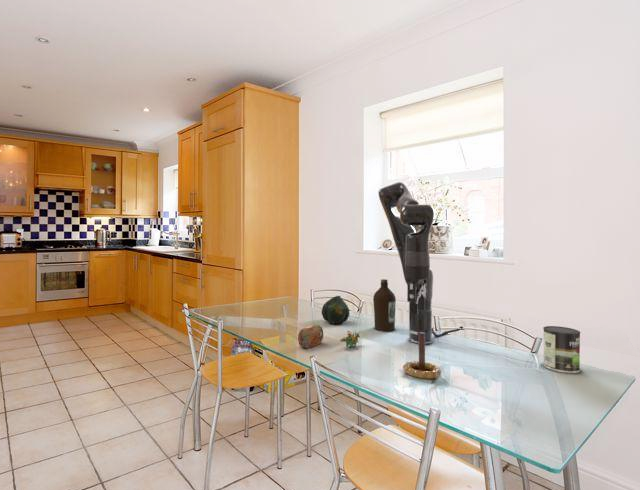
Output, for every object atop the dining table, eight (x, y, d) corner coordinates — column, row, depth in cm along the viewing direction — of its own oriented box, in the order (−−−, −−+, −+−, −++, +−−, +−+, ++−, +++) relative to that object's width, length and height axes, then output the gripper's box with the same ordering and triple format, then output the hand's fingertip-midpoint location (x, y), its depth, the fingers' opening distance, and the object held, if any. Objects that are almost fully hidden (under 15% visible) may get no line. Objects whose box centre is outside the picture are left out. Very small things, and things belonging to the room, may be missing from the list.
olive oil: (369, 329, 197) (369, 279, 197) (379, 325, 205) (379, 277, 204) (390, 333, 190) (389, 281, 189) (399, 328, 197) (399, 279, 197)
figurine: (362, 348, 168) (362, 329, 167) (342, 353, 161) (342, 333, 161) (357, 346, 170) (356, 327, 170) (336, 351, 164) (336, 331, 164)
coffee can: (585, 370, 139) (586, 330, 139) (571, 375, 134) (571, 334, 134) (551, 361, 148) (552, 324, 148) (537, 366, 143) (537, 328, 143)
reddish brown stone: (302, 350, 166) (302, 330, 166) (296, 348, 169) (296, 329, 168) (324, 342, 176) (323, 324, 176) (318, 341, 179) (318, 322, 178)
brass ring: (409, 364, 144) (409, 358, 144) (444, 372, 136) (444, 365, 136) (398, 374, 135) (398, 367, 135) (435, 382, 127) (435, 375, 127)
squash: (317, 315, 207) (336, 294, 205) (316, 310, 221) (334, 290, 220) (338, 333, 205) (357, 312, 203) (335, 327, 219) (354, 307, 218)
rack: (412, 369, 142) (412, 328, 142) (439, 375, 137) (439, 332, 136) (404, 377, 136) (404, 333, 135) (432, 383, 130) (432, 338, 129)
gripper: (412, 261, 140) (412, 306, 140) (398, 265, 129) (399, 314, 129) (434, 262, 135) (435, 309, 135) (423, 266, 124) (423, 317, 124)
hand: (417, 311), depth 132 cm, fingers open, 8 cm apart
